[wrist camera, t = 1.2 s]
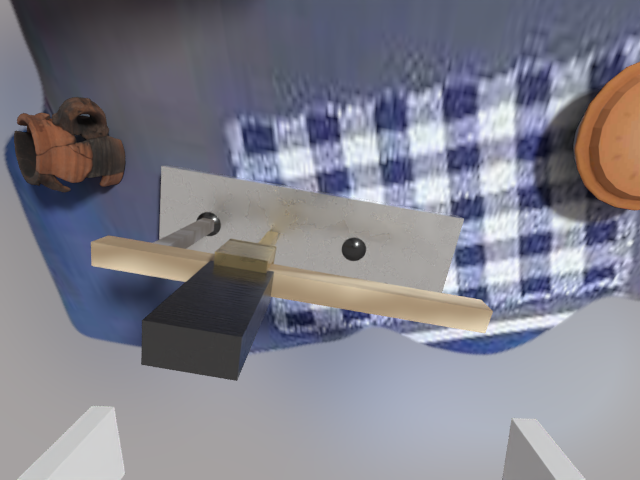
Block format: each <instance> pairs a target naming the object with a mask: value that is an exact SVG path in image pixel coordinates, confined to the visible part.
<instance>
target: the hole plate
mask: <svg viewBox="0 0 640 480" xmlns="http://www.w3.org/2000/svg"><path fill="white" fill-rule="evenodd" d="M202 218H208V219H213V220H215V221H214V231H213V232H211V233H210V234H208V235H207V236H205V237H203V238H202V239H200V240H199V241H197V242H196V243H194V244H193V245H191V246H190V247H188V248H187V249H189V250H195V251H201V252H207V253H212V254H215V251H216V250H218V249H219V248H220V247H221V246H222V245H224V244H225V243H226V242H227V241H228V240H229V239H237V240H243V241H248V242H254V243H259V242H260V240H261V239H262V238H263V237H264V236H265V234H266V233H267V232H268V231H272V232H278V238H277V243H276V244H275V246H277V247H276V254H275V260H274V264H276V265H282V266H288V267H294V268H299V269H305V270H311V271H317V272H322V273H328V274H334V275H340V276H346V277H351V278H357V279H363V280H369V281H375V282H380V283H386V284H392V285H398V286H404V287H409V288H415V289H421V290H427V291H433V292H438V293H442V291H443V287H444V284H445V281H446V277H447V274H448V271H449V267H450V264H451V261H452V257H453V254H454V251H455V247H456V244H457V241H458V237H459V234H460V231H461V227H462V224H463V221H464V219H463V218H461V217H459V216H457V215H451V214H445V213H440V212H434V211H428V210H423V209H417V208H411V207H405V206H400V205H394V204H388V203H383V202H377V201H371V200H365V199H360V198H354V197H348V196H343V195H337V194H331V193H326V192H320V191H314V190H308V189H303V188H297V187H291V186H286V185H280V184H274V183H268V182H263V181H257V180H251V179H246V178H240V177H234V176H229V175H223V174H217V173H211V172H206V171H200V170H194V169H189V168H183V167H177V166H171V165H167V166H162V169H161V200H160V232H159V240H160V239H162V238H164V237H166V236H168V235H170V234H172V233H174V232H176V231H178V230H180V229H182V228H184V227H186V226H188V225H190V224H192V223H194V222H196V221H198V220H200V219H202Z"/></svg>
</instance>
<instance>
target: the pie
mask: <svg viewBox="0 0 640 480" xmlns="http://www.w3.org/2000/svg"><path fill="white" fill-rule="evenodd" d="M573 152H574V160H575V162H576V165H577V170H578V172H579V174H580V176H581V179H582V181H583V183H584V186H585V187H586V188H587V189H588V190H589V191H590V192H591V193H592V194H593V195H594V196H595V197H596V198H597V199H599V200H601V201H603V202H605V203H607V204H609V205H611V206H613V207H617V208H623V209H629V210H640V62H638V63H636V64H633V65H631V66H629V67H626V68H625V69H624V70H623V71H621V72H620V73H619V74H618V75H616V76H615V77H614V78H613V79H612V80H610V81H609V82H608V83H607V84H605V86H604V87H603V88H602V89H601V90H600V92H599V93H598V94H597V95H596V97H595V98H594V99H593V100H592V101H591V103H590V104H589V106H588V108H587V110H586V112H585V114H584V115H583V117H582V119H581V121H580V123H579V125H578V127H577V129H576V132H575V137H574V142H573Z"/></svg>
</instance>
